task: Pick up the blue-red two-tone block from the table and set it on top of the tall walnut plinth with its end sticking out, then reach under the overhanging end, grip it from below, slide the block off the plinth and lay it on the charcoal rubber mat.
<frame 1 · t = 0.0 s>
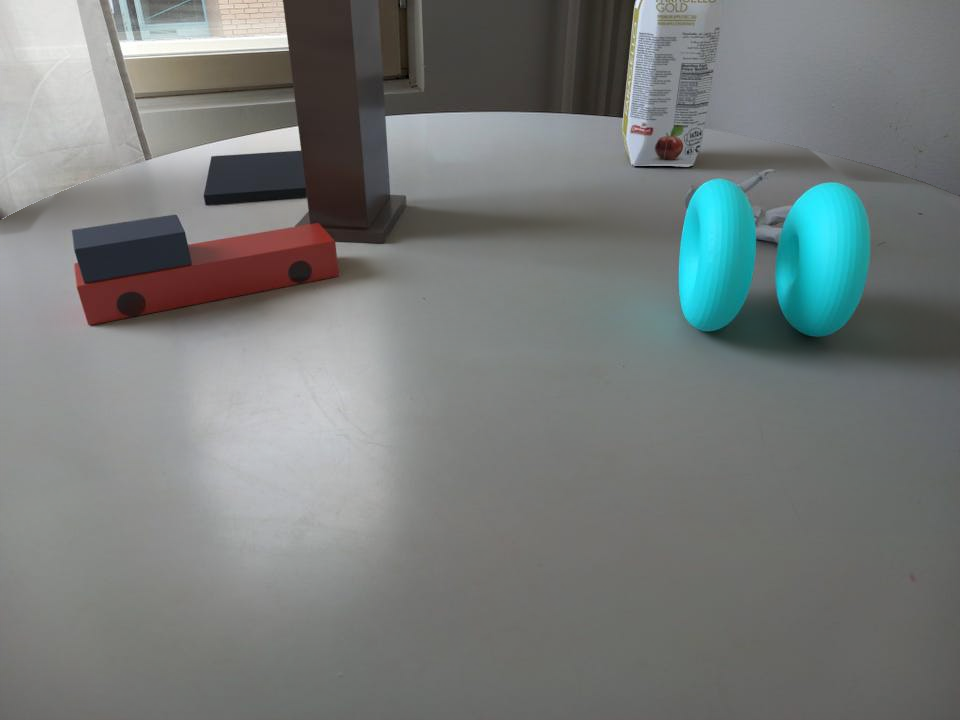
plinth: (353, 221, 69), on the table
juice carton: (657, 162, 86), on the table
blue-red two-tone block: (216, 288, 56), on the table
donuts: (751, 327, 52), on the table
mat: (258, 180, 79), on the table
soldier figure: (752, 240, 65), on the table
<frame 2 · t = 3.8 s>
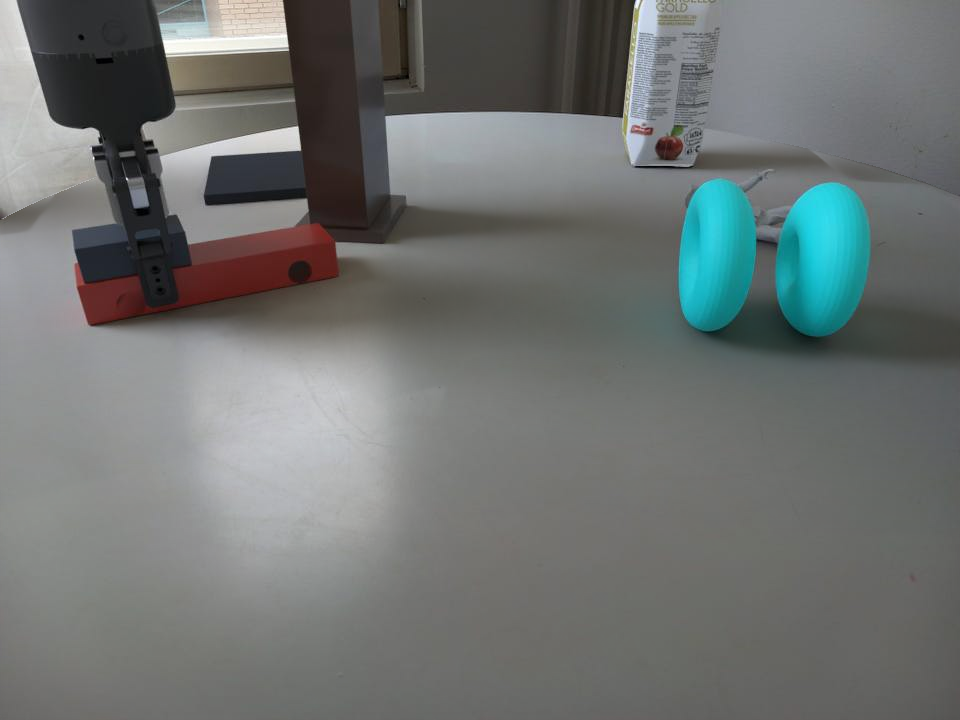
hand: (158, 288, 54), 1 cm above the table, tool pointing down, fingers closed on blue-red two-tone block, 4 cm apart
blue-red two-tone block: (216, 288, 56), on the table, touching gripper
everything else where it was.
when the fingers open (32 cm above the table, at t = 12.3 s): blue-red two-tone block stays where it is, resting on plinth.
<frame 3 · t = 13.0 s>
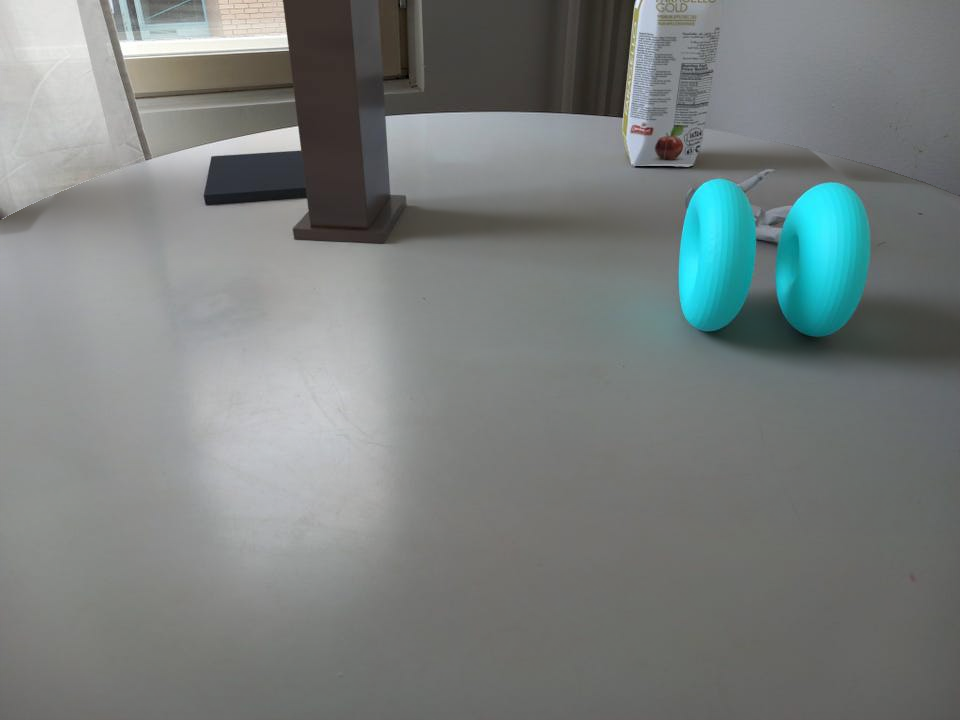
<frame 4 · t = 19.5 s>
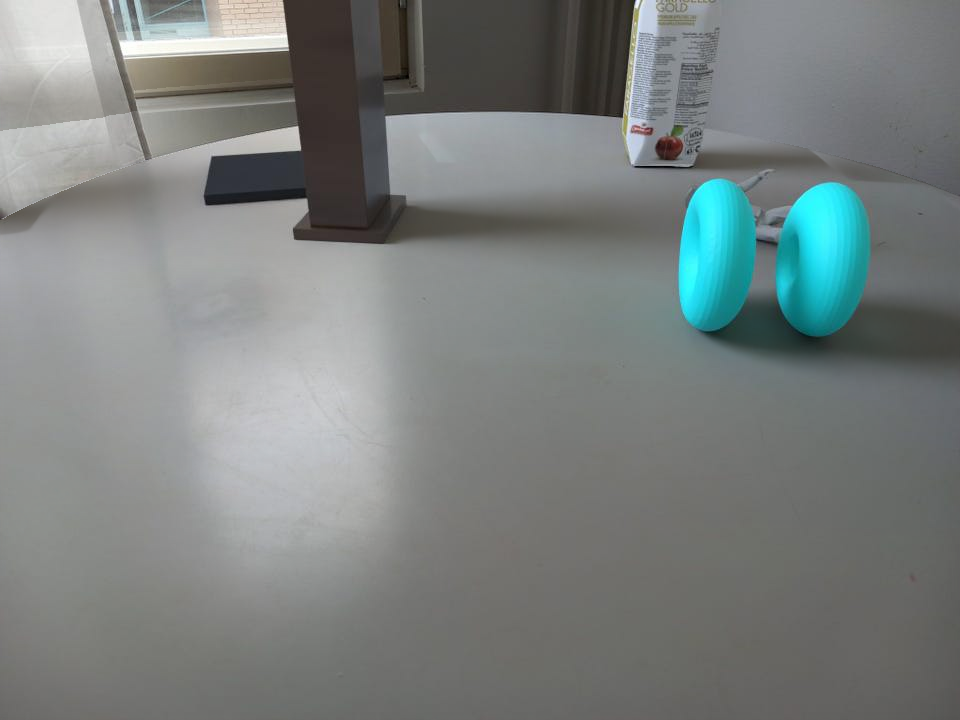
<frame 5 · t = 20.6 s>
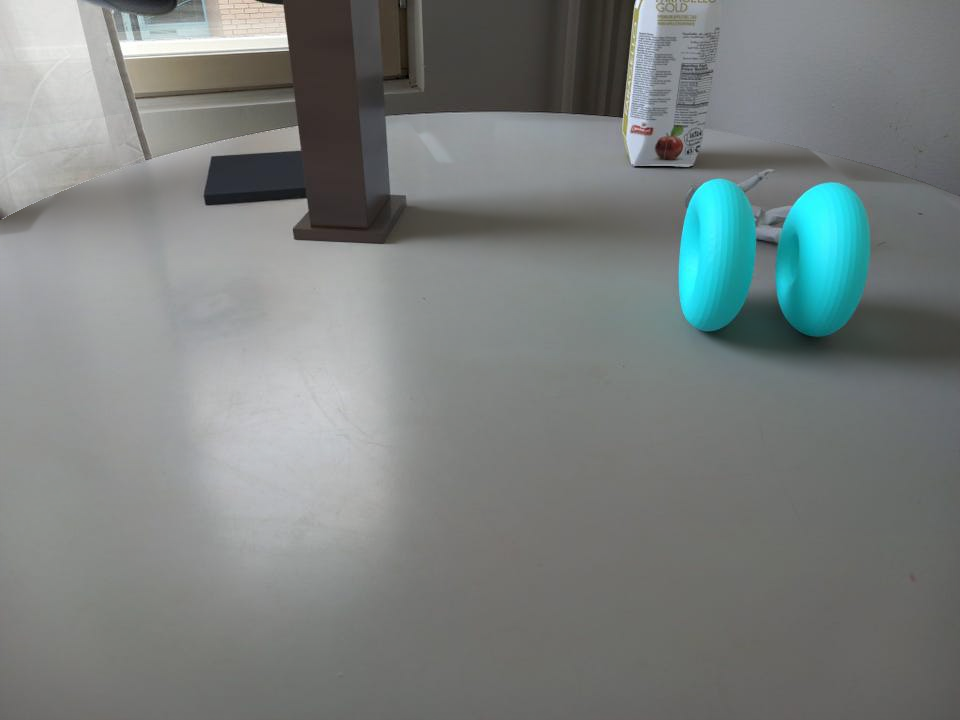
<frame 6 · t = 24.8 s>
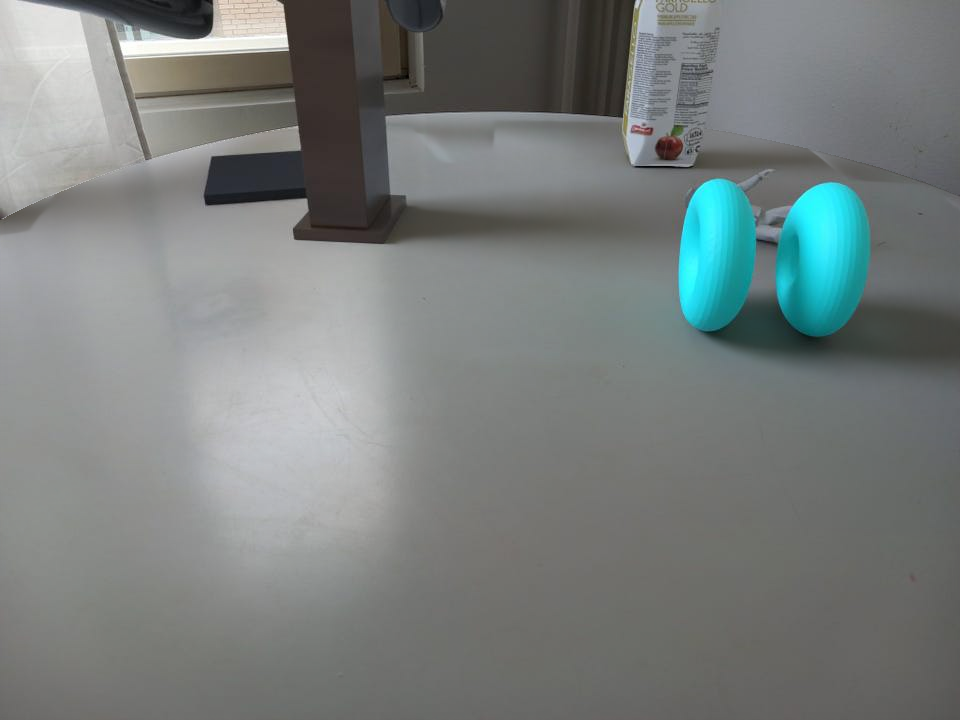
when the fingers open (9 cm above the table, at t = 36.7 s): blue-red two-tone block drops 4 cm, resting on mat.
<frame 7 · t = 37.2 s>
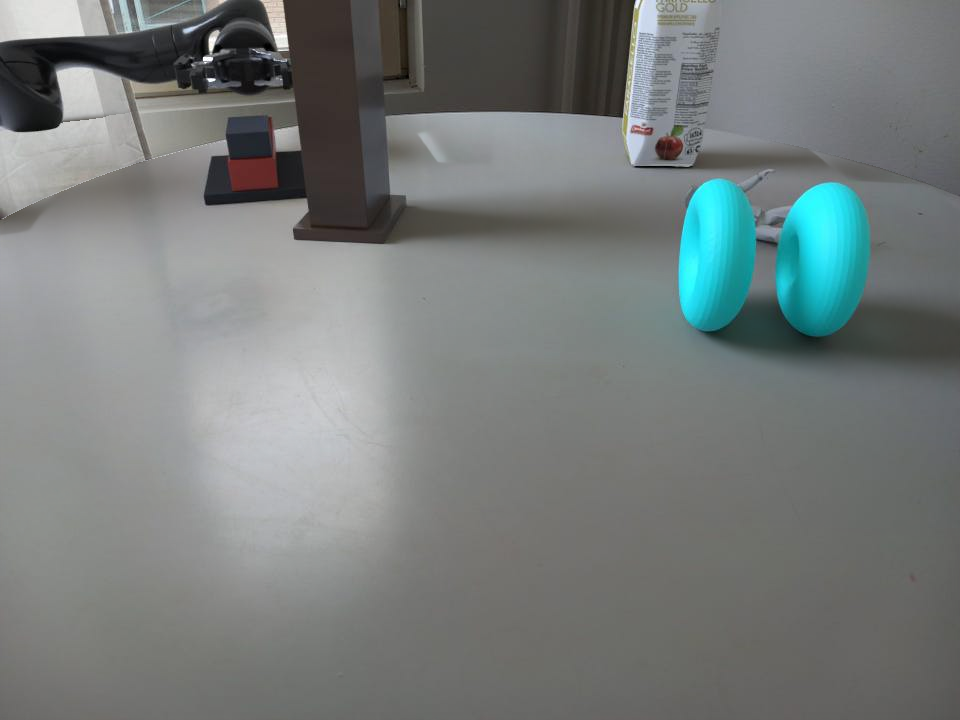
hand: (243, 81, 77), 10 cm above the table, tool horizontal, fingers open, 8 cm apart
blue-red two-tone block: (256, 164, 81), point 1 cm above the table, touching mat
everything else where it was.
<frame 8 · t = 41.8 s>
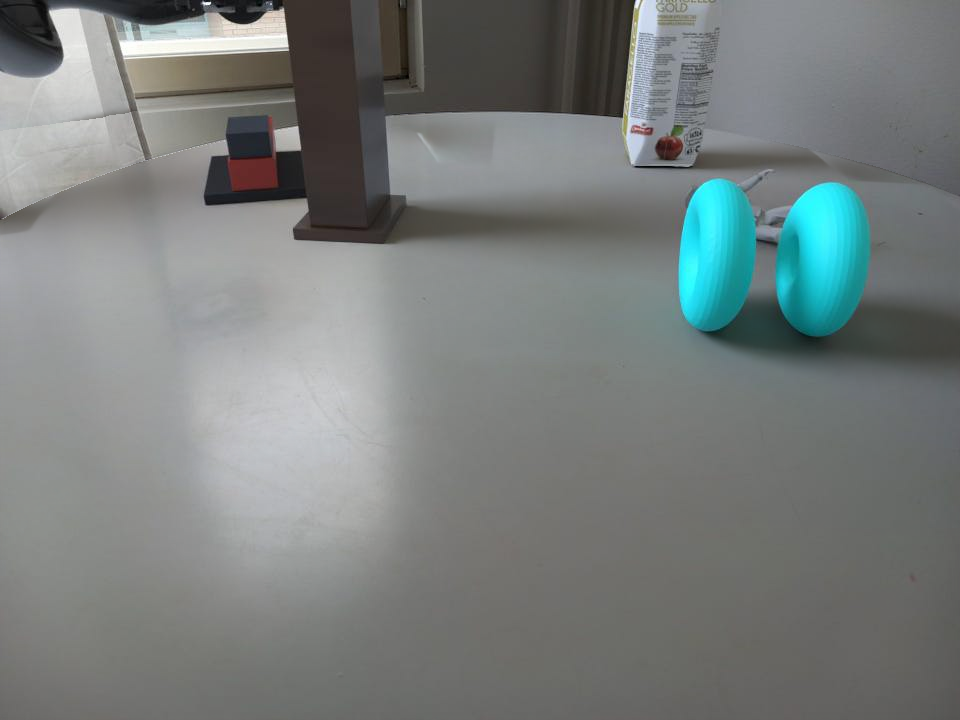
hand: (236, 1, 83), 16 cm above the table, tool horizontal, fingers open, 8 cm apart
nothing on the table moved.
at the end: blue-red two-tone block inside the target area on the mat (2.4 cm from its centre), point 1.0 cm above the mat's base; the gripper is holding nothing; blue-red two-tone block moved 29.4 cm from its start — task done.
